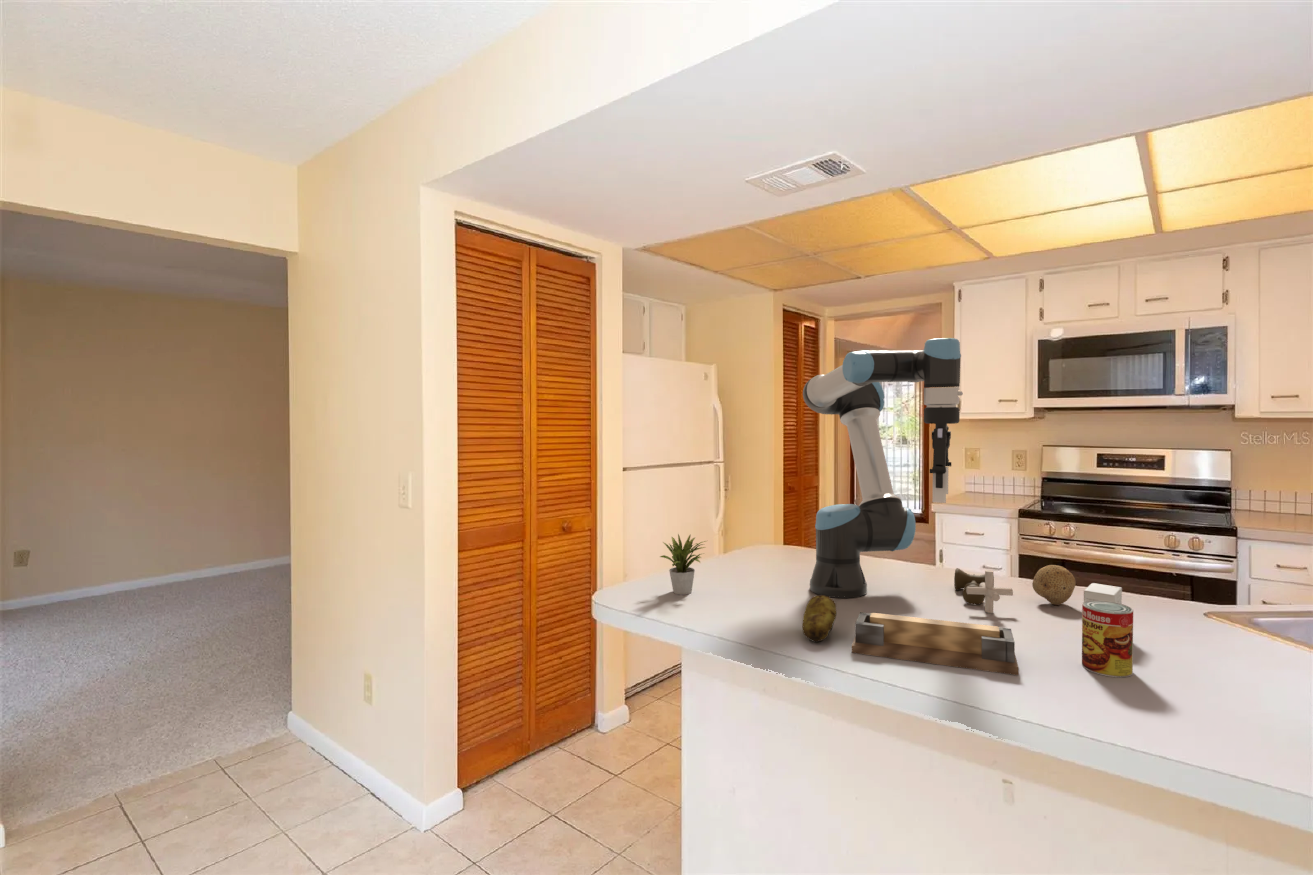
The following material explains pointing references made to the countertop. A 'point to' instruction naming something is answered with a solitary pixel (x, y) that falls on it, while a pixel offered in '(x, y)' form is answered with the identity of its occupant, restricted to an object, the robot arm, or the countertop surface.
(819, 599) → the potato
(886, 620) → the oak slat
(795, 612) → the countertop surface
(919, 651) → the end cap board
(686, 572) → the house plant
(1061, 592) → the natural sponge
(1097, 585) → the small box
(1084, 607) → the canned food
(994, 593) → the pipe connector
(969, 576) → the kendama
